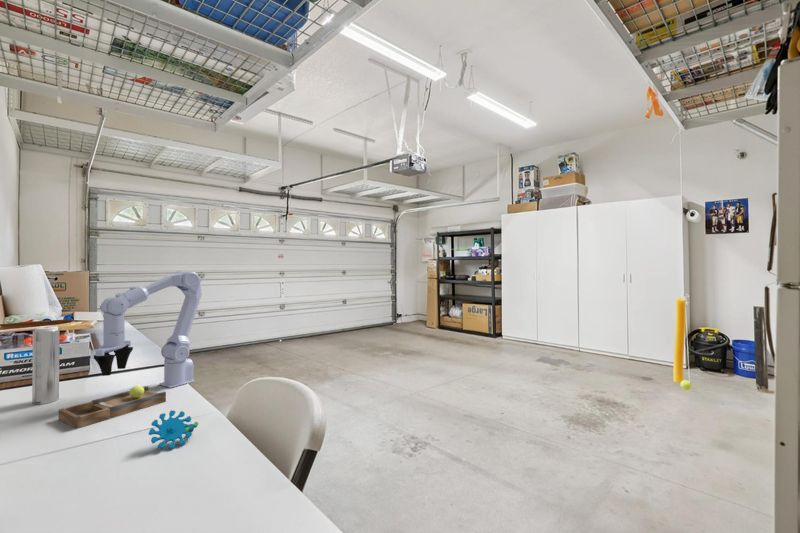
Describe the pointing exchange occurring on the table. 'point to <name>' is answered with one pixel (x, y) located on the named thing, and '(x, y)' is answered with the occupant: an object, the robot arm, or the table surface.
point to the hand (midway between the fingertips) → (114, 371)
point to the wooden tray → (108, 407)
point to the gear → (172, 429)
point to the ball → (136, 391)
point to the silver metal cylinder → (45, 365)
